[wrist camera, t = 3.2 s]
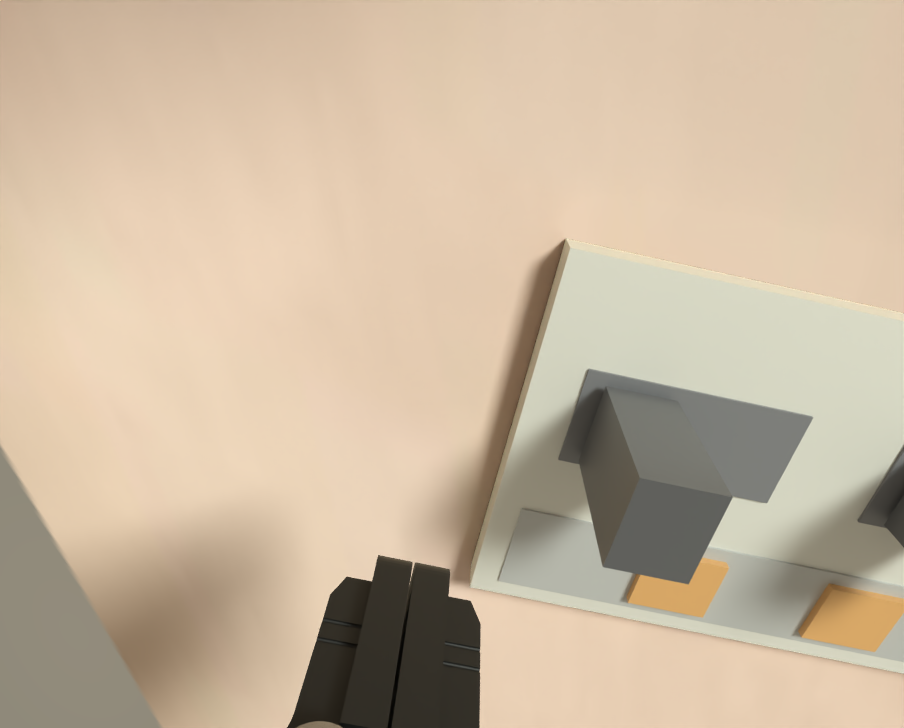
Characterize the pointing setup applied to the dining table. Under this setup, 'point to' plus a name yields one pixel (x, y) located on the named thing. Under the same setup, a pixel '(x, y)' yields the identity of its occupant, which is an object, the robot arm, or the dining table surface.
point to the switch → (650, 487)
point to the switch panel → (717, 455)
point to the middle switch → (897, 522)
